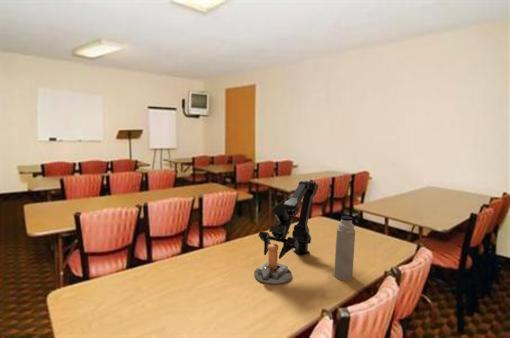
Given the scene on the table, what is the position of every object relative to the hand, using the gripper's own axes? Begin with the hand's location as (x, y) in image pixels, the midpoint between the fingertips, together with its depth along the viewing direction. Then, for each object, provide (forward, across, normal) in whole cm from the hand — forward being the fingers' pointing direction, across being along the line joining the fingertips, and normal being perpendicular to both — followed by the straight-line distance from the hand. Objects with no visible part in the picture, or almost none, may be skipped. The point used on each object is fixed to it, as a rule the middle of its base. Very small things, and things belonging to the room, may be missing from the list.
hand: (271, 256), depth 144 cm
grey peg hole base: (+6, 0, +8) cm, 10 cm away
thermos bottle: (-6, +27, +20) cm, 34 cm away
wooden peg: (+5, 0, +7) cm, 8 cm away
